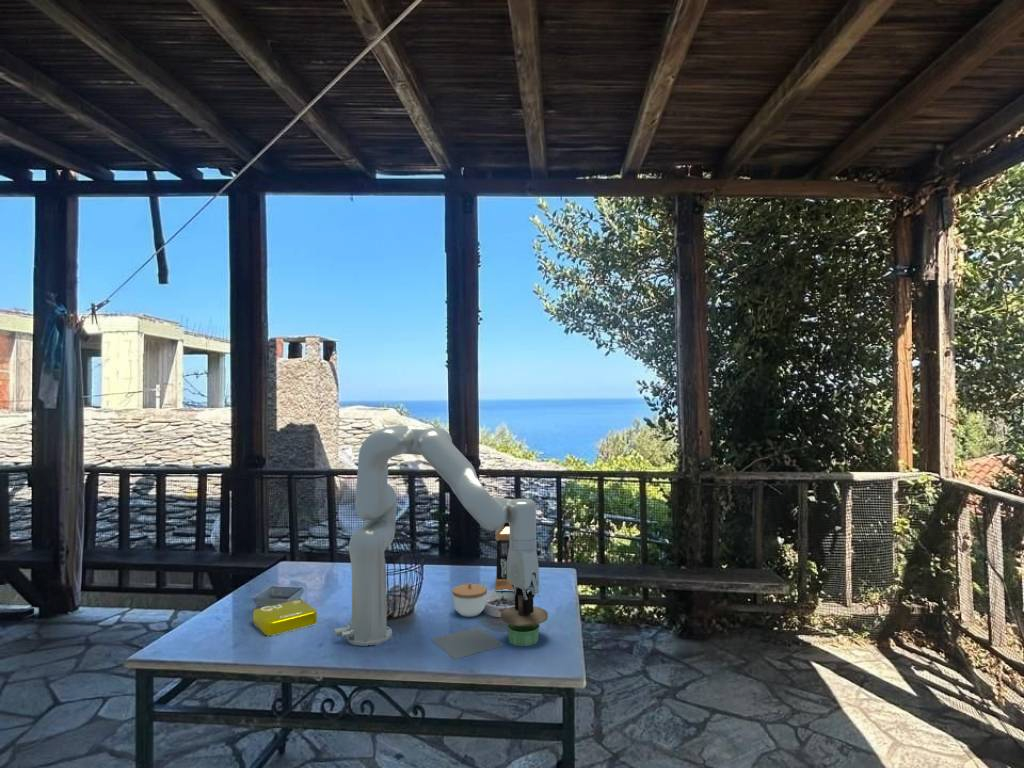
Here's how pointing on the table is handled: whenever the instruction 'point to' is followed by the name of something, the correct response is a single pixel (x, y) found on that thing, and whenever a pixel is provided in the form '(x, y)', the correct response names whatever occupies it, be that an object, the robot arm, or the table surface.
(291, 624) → the element tile
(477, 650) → the slate mat
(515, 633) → the ramekin
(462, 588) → the lidded jar
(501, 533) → the whiskey bottle
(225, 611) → the table surface
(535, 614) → the walnut lid
